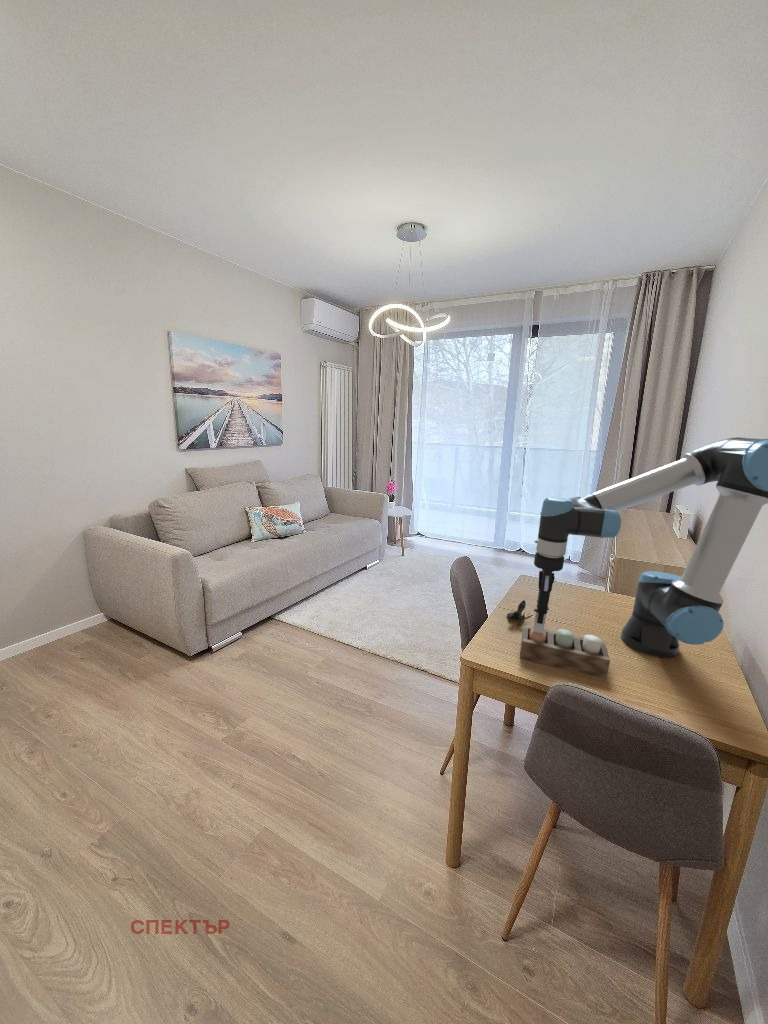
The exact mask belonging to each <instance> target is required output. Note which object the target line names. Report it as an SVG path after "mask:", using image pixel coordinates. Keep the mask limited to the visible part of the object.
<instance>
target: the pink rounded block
mask: <svg viewBox="0 0 768 1024" xmlns="http://www.w3.org/2000/svg"><path fill="white" fill-rule="evenodd" d="M545 639H546V632H545V631H543V634H541V633H537V632H533V629H531V630H530V635H529V640H533V641H537V642H542V643H545Z"/></svg>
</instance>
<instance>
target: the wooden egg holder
mask: <svg viewBox="0 0 768 1024" xmlns="http://www.w3.org/2000/svg"><path fill="white" fill-rule="evenodd" d="M533 627H534V626H531V625H526V624H524V625H523V629H522V635H521V643H520V654H519V659H520V660H523V661H528V662H533V663H538V664H541V665H545V666H550V667H555V668H559V669H562V670H568V671H571V672H576V673H580V674H584V675H587V676H588V675H589V676H593V677H597V678H602V679H605V680H607V678H608V673H609V672H608V671H609V667H610V662H611V659H610V655H609V652H608V648H607V644H606V641H603V640H602V643H601V648H600V653H599V655H596V654H592V653H587V652H583V651H582V645H583V640H584V636H580V635H574V637H573V643H572V649H569V648H565V647H560V646H555V640H556V634H557V631H554V630H549V629H545V628H544V631H545V632H546V639H545V643H542V642H537V641H533V640H529V635H530V630H531V629H533Z"/></svg>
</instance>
